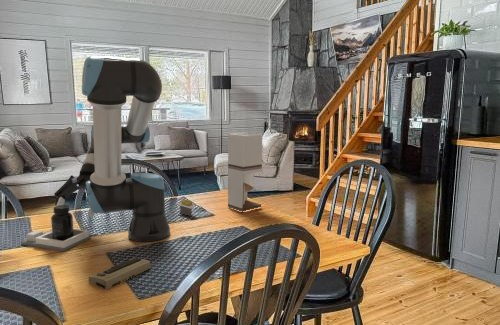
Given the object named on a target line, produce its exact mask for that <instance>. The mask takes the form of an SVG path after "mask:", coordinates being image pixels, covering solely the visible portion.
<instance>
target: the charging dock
mask: <svg viewBox="0 0 500 325" xmlns="http://www.w3.org/2000/svg"><path fill="white" fill-rule="evenodd" d="M73 230H74V236H73V237H71V238H69V239H67V240H64V241H61V240H54V239H53V238H52V229H49V230H47V231H45V232H44V231H42V230H34V231H31V232H28V233H26V239H24V240H22V241H21V243H20V244H21V245H22V246H28V247H35V248H41V249H47V250H50V251H51V250H52V251H58V252H64V251H67V250H69V249H71V248H73V247H75V246H77V245H79V244H82V243H83V242H86V241H88V240H90V239H91V235H90V231H89V230H86V229H78V228H73Z"/></svg>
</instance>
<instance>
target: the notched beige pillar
mask: <svg viewBox="0 0 500 325" xmlns="http://www.w3.org/2000/svg"><path fill="white" fill-rule="evenodd" d="M227 136H228V137H227V141H228V142H227V144H228V145H227V150H228V151H227V156H228V157H227V208H228V207H229V208H233V209H236V210H239V211H242V212H243V211H246V210H250V209H254V208H258V207H261V208H262V204H261V203H257V202H255V201H252V200H248V192H250V191H252V190H254V187H255V186H254V185H255V173H261V172H262V171H263V170H262V169H263V133H261V134H259V133H258V134H249V132H237V133H235V132H234V133H228V134H227ZM229 208H228V209H229Z"/></svg>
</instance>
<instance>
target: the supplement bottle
mask: <svg viewBox="0 0 500 325" xmlns="http://www.w3.org/2000/svg"><path fill="white" fill-rule="evenodd" d="M53 212H54V213H55V214H54V213H53V214H52V215H51V218H50V222H51V230H52V238H53V239H54V240H61V241H64V240H67V239H69V238H71V237H73V236H74V230H73V229H74V219H73V218H74V217H73V214H72V213H71V212H70V206H69V205H68V204H64V205H59V206H56V205H55V206H53Z"/></svg>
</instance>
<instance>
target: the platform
mask: <svg viewBox="0 0 500 325" xmlns="http://www.w3.org/2000/svg"><path fill="white" fill-rule="evenodd" d="M177 205H178V206H179V213H180V214H181V213H182V215H184V214H185V216H187V215H189V216H188V217H190V216H192V217H193V215H192V214H193V212H192V209H194V208H195V207H196V205H195V204H194V203H193V201H190V200H188V199H181V200H180V202H177Z"/></svg>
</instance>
